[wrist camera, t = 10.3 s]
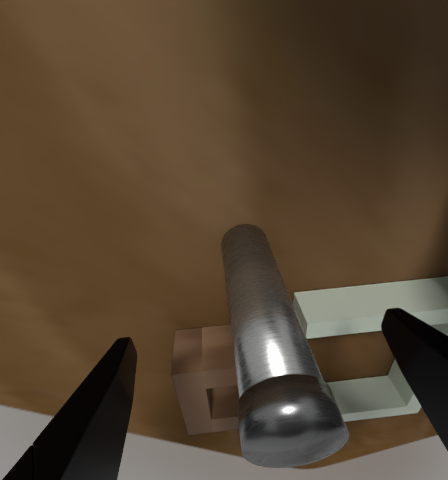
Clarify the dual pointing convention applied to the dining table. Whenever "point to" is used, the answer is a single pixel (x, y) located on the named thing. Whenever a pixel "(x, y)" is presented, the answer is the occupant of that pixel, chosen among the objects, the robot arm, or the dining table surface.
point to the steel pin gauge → (274, 363)
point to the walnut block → (206, 378)
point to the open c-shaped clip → (367, 320)
